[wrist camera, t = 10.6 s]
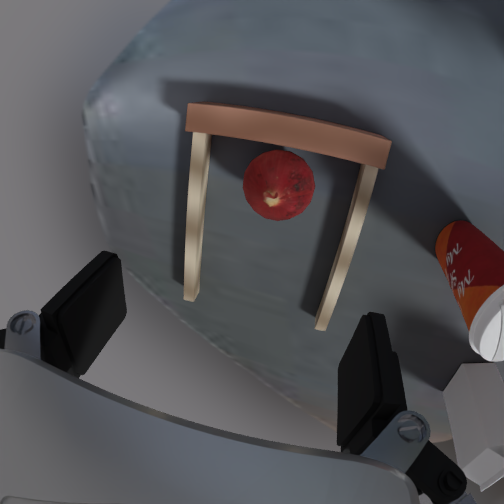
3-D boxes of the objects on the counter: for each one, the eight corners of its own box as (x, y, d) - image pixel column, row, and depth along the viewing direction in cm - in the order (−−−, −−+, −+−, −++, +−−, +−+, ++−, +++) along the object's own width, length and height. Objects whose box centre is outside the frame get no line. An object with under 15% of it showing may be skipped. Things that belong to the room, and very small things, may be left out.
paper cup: (415, 232, 29) (466, 322, 16) (474, 197, 25) (551, 268, 13) (438, 286, 31) (479, 380, 19) (491, 255, 28) (550, 336, 16)
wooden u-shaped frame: (203, 101, 26) (187, 103, 23) (381, 135, 25) (391, 141, 22) (189, 289, 37) (177, 309, 34) (325, 319, 36) (325, 343, 32)
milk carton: (441, 392, 39) (461, 496, 23) (461, 362, 36) (493, 474, 19) (474, 390, 38) (498, 486, 22) (495, 361, 35) (530, 463, 18)
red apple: (307, 138, 27) (305, 153, 20) (319, 198, 29) (321, 232, 22) (245, 151, 28) (222, 170, 21) (260, 208, 31) (243, 244, 24)
